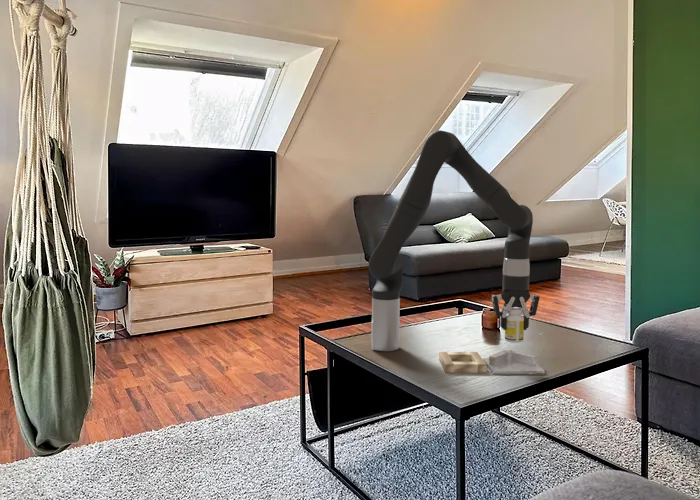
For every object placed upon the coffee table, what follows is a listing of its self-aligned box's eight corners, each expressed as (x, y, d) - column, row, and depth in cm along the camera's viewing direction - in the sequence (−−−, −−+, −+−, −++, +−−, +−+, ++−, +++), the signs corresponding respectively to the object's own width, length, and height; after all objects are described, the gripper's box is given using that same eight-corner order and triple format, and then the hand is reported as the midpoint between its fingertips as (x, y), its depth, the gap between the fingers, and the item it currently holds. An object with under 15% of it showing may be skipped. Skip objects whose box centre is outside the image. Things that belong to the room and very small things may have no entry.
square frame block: (445, 372, 166) (445, 364, 166) (438, 359, 178) (439, 352, 177) (486, 372, 166) (486, 364, 166) (477, 359, 178) (477, 352, 177)
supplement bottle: (519, 338, 172) (521, 306, 170) (525, 343, 166) (527, 310, 165) (502, 338, 171) (503, 306, 170) (507, 343, 166) (508, 310, 165)
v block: (492, 374, 164) (492, 362, 164) (482, 361, 177) (483, 350, 176) (544, 374, 164) (544, 362, 164) (530, 360, 177) (531, 350, 176)
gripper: (494, 275, 163) (493, 332, 165) (544, 275, 163) (542, 332, 165) (488, 271, 170) (487, 326, 172) (536, 271, 170) (534, 326, 172)
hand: (514, 329), depth 168 cm, fingers closed on supplement bottle, 5 cm apart
